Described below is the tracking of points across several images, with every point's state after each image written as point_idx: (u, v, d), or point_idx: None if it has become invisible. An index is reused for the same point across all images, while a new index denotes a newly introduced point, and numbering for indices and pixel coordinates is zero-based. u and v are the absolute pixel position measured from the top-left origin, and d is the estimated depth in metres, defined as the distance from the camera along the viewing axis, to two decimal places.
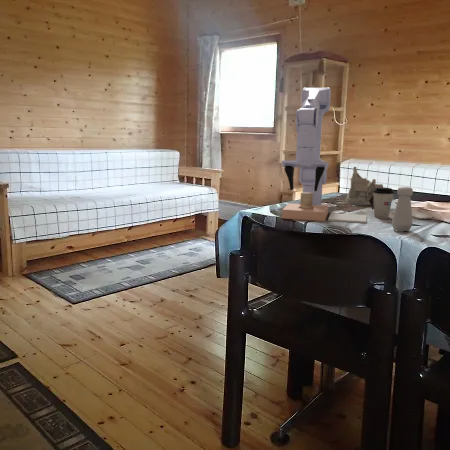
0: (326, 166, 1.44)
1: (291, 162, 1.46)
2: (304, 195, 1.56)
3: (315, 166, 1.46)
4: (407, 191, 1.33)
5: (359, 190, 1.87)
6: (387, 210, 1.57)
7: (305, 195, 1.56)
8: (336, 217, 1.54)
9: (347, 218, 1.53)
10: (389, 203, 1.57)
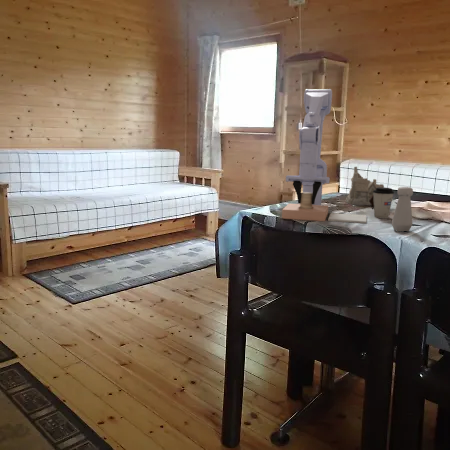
0: (327, 181, 1.54)
1: (294, 177, 1.56)
2: (304, 195, 1.56)
3: (317, 181, 1.56)
4: (407, 191, 1.33)
5: (360, 190, 1.86)
6: (387, 210, 1.57)
7: (305, 195, 1.56)
8: (336, 217, 1.54)
9: (347, 218, 1.53)
10: (389, 203, 1.57)
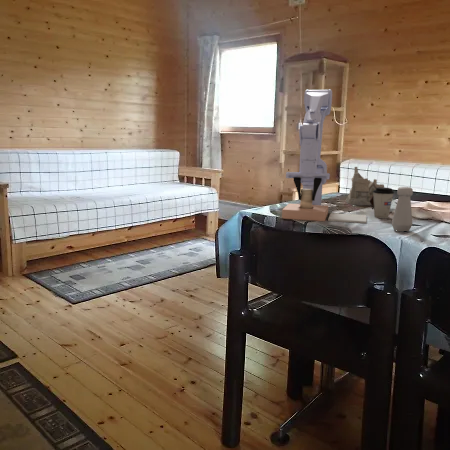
0: (328, 177, 1.55)
1: (295, 174, 1.55)
2: (305, 191, 1.56)
3: (317, 177, 1.56)
4: (407, 191, 1.33)
5: (361, 190, 1.86)
6: (387, 210, 1.57)
7: (306, 191, 1.56)
8: (336, 217, 1.54)
9: (347, 218, 1.53)
10: (389, 203, 1.57)
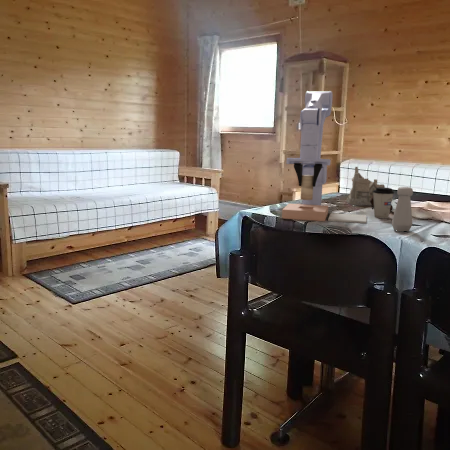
0: (328, 163, 1.53)
1: (295, 159, 1.55)
2: (305, 177, 1.55)
3: (318, 163, 1.54)
4: (407, 191, 1.33)
5: (361, 190, 1.86)
6: (387, 210, 1.57)
7: (306, 177, 1.55)
8: (336, 217, 1.54)
9: (347, 218, 1.53)
10: (389, 203, 1.57)
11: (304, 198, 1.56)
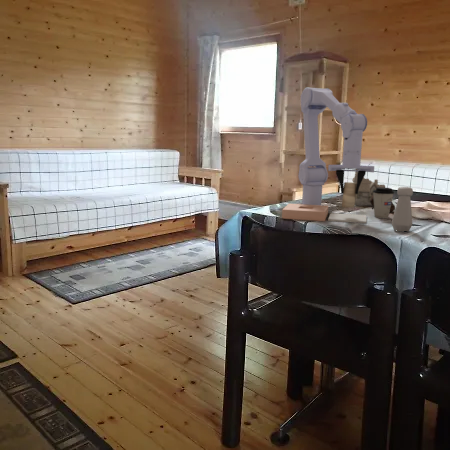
0: (372, 170, 1.49)
1: (338, 166, 1.51)
2: (348, 185, 1.51)
3: (361, 170, 1.51)
4: (407, 191, 1.33)
5: (362, 190, 1.85)
6: (387, 210, 1.57)
7: (349, 185, 1.51)
8: (336, 217, 1.54)
9: (347, 218, 1.53)
10: (389, 203, 1.57)
11: (346, 206, 1.53)
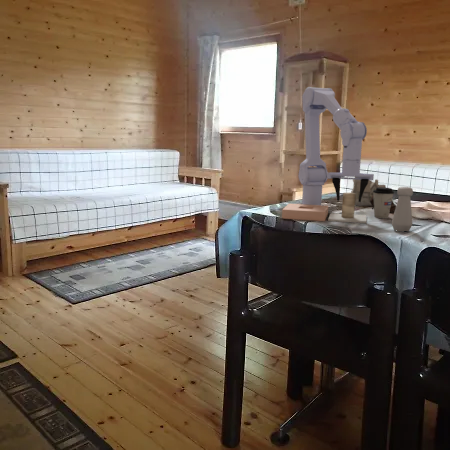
0: (372, 178, 1.50)
1: (337, 174, 1.52)
2: (347, 195, 1.52)
3: (361, 178, 1.51)
4: (407, 191, 1.33)
5: None
6: (387, 210, 1.57)
7: (348, 195, 1.52)
8: (336, 217, 1.54)
9: (347, 218, 1.53)
10: (389, 203, 1.57)
11: (346, 216, 1.54)
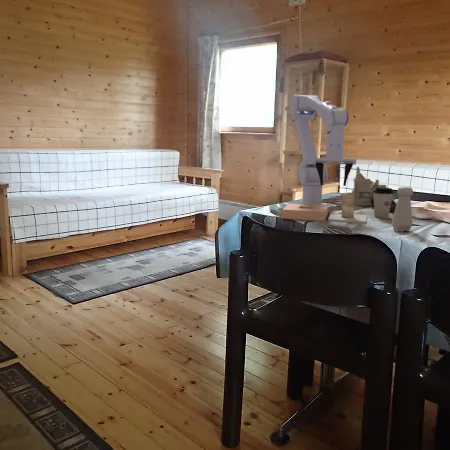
0: (354, 162, 1.56)
1: (322, 159, 1.58)
2: (347, 195, 1.52)
3: (344, 163, 1.58)
4: (407, 191, 1.33)
5: (363, 191, 1.84)
6: (387, 210, 1.57)
7: (348, 195, 1.52)
8: (336, 217, 1.54)
9: (347, 218, 1.53)
10: (389, 203, 1.57)
11: (346, 216, 1.54)
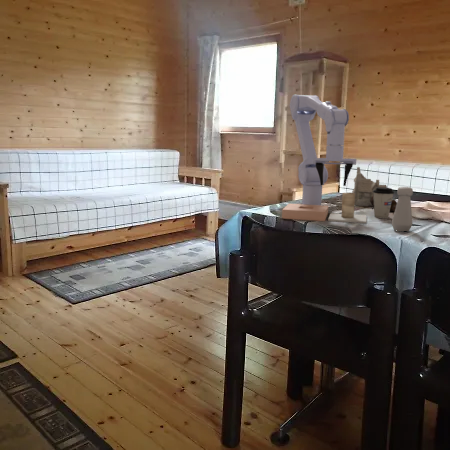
0: (354, 162, 1.56)
1: (322, 159, 1.58)
2: (346, 195, 1.52)
3: (344, 163, 1.58)
4: (407, 191, 1.33)
5: (364, 191, 1.84)
6: (387, 210, 1.57)
7: (348, 195, 1.52)
8: (336, 217, 1.54)
9: (347, 218, 1.53)
10: (389, 203, 1.57)
11: (346, 216, 1.54)
